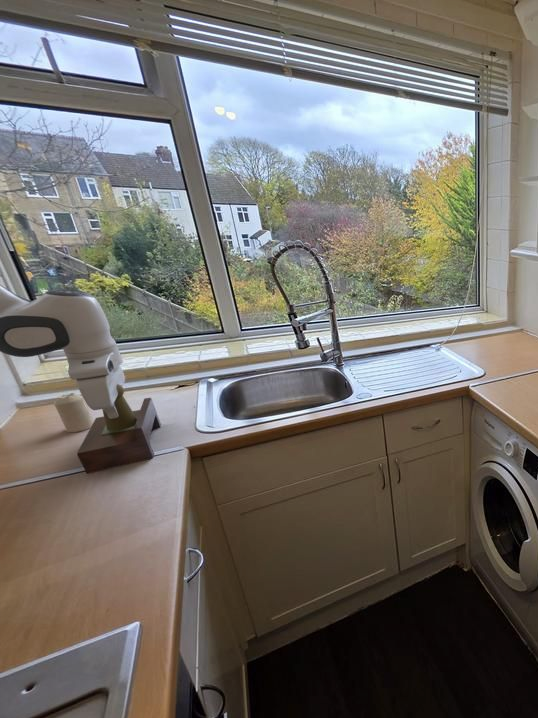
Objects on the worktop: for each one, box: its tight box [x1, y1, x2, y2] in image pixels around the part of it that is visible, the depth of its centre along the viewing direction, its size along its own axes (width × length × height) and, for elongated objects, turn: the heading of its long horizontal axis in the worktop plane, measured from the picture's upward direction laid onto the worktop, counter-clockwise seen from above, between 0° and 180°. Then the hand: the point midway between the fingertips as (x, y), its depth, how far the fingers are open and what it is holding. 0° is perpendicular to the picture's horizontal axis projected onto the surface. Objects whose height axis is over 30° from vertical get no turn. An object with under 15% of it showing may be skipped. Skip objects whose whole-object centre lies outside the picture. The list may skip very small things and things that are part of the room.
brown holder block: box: [76, 397, 162, 474], centre depth 102 cm, size 12×20×8 cm, turn 34°
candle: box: [53, 392, 95, 433], centre depth 110 cm, size 6×6×10 cm
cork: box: [101, 384, 137, 431], centre depth 101 cm, size 6×6×11 cm
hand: (117, 411), depth 101 cm, fingers open, 6 cm apart
